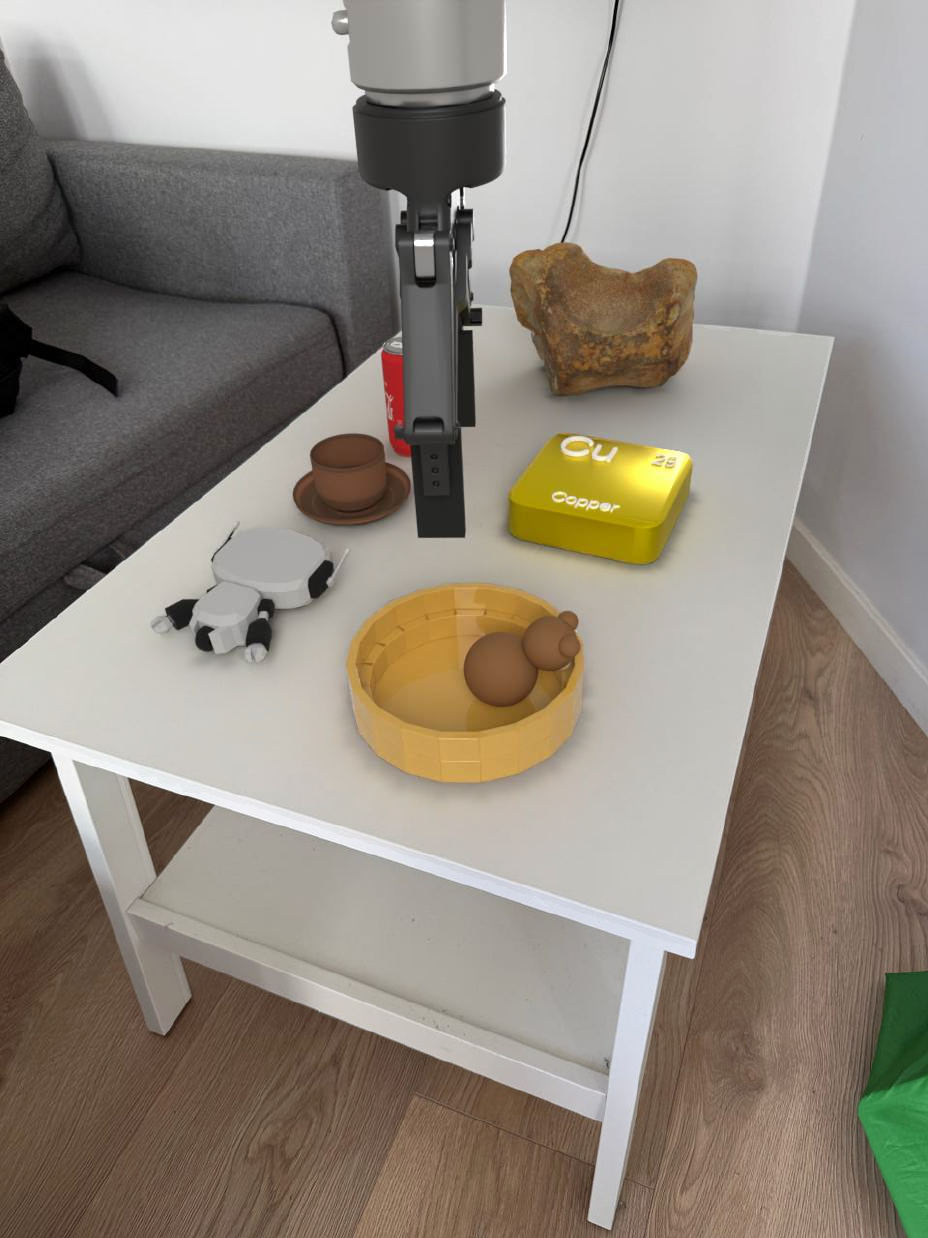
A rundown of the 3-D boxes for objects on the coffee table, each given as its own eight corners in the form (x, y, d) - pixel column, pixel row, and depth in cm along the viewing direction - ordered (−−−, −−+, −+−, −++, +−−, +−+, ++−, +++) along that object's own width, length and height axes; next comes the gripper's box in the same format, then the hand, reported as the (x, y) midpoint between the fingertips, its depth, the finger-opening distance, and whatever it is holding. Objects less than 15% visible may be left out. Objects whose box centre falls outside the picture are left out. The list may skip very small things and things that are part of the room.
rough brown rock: (484, 405, 112) (482, 287, 102) (515, 342, 124) (516, 230, 113) (675, 429, 107) (694, 307, 97) (689, 361, 119) (708, 245, 108)
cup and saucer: (289, 484, 98) (280, 432, 94) (399, 467, 100) (395, 415, 96) (302, 545, 88) (292, 490, 85) (423, 524, 90) (419, 469, 87)
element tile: (501, 537, 88) (501, 494, 85) (554, 465, 99) (555, 424, 96) (654, 570, 83) (659, 526, 80) (692, 490, 94) (698, 448, 91)
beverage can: (422, 462, 100) (415, 357, 93) (381, 453, 102) (371, 350, 95) (443, 441, 104) (438, 338, 96) (403, 433, 106) (395, 332, 98)
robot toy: (270, 690, 74) (360, 577, 83) (257, 650, 71) (353, 538, 80) (150, 652, 78) (249, 549, 88) (133, 613, 75) (238, 510, 85)
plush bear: (493, 682, 73) (596, 628, 69) (492, 732, 69) (601, 679, 65) (450, 638, 70) (554, 580, 66) (446, 688, 66) (557, 629, 62)
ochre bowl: (575, 630, 77) (577, 582, 74) (586, 790, 63) (590, 740, 60) (370, 629, 78) (364, 582, 75) (338, 787, 64) (329, 737, 61)
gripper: (382, 55, 54) (409, 389, 68) (303, 150, 35) (363, 594, 48) (509, 50, 54) (511, 388, 67) (500, 144, 34) (505, 594, 48)
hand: (449, 475), depth 58 cm, fingers open, 13 cm apart
